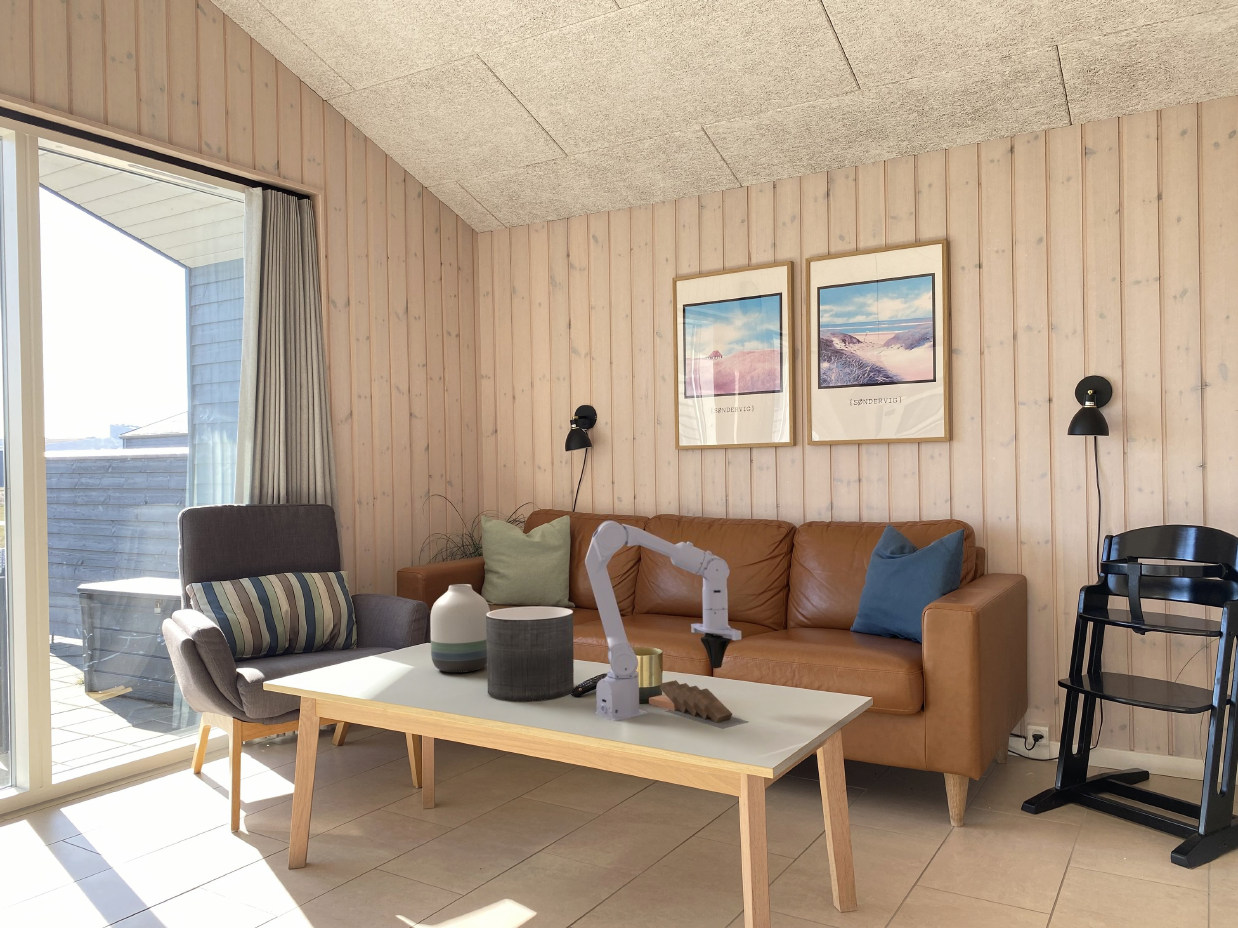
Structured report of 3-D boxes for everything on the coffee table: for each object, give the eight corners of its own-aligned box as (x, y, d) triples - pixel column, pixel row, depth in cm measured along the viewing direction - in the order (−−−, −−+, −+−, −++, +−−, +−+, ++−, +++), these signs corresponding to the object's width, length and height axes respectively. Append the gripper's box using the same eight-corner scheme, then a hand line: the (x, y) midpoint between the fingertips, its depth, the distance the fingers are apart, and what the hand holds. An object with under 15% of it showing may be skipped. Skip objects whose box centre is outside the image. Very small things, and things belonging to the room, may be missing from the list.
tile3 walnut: (696, 710, 197) (672, 685, 203) (694, 716, 198) (670, 691, 204) (710, 707, 200) (686, 682, 206) (708, 713, 200) (684, 688, 207)
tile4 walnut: (685, 707, 200) (661, 683, 206) (683, 713, 200) (659, 688, 207) (699, 704, 203) (676, 680, 209) (697, 709, 203) (674, 685, 210)
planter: (469, 697, 220) (468, 616, 220) (516, 678, 240) (515, 604, 240) (547, 705, 211) (545, 621, 211) (589, 685, 231) (587, 608, 231)
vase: (439, 663, 262) (438, 582, 262) (496, 662, 261) (494, 581, 262) (424, 676, 245) (423, 589, 245) (485, 675, 244) (483, 588, 245)
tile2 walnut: (706, 713, 194) (682, 688, 201) (704, 719, 195) (679, 694, 201) (721, 710, 197) (696, 685, 203) (718, 715, 198) (694, 690, 204)
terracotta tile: (674, 703, 203) (648, 697, 210) (674, 710, 203) (649, 704, 210) (688, 700, 206) (662, 694, 213) (688, 707, 206) (663, 701, 213)
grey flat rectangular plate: (723, 729, 188) (723, 728, 188) (664, 712, 203) (664, 710, 203) (749, 722, 193) (749, 721, 193) (690, 706, 208) (690, 704, 208)
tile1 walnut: (718, 717, 192) (692, 691, 198) (715, 722, 192) (690, 697, 199) (732, 713, 194) (706, 688, 201) (730, 719, 195) (704, 693, 201)
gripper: (750, 609, 201) (751, 669, 200) (705, 603, 212) (707, 660, 212) (728, 613, 196) (729, 674, 196) (684, 606, 208) (685, 664, 208)
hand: (716, 667), depth 204 cm, fingers closed
